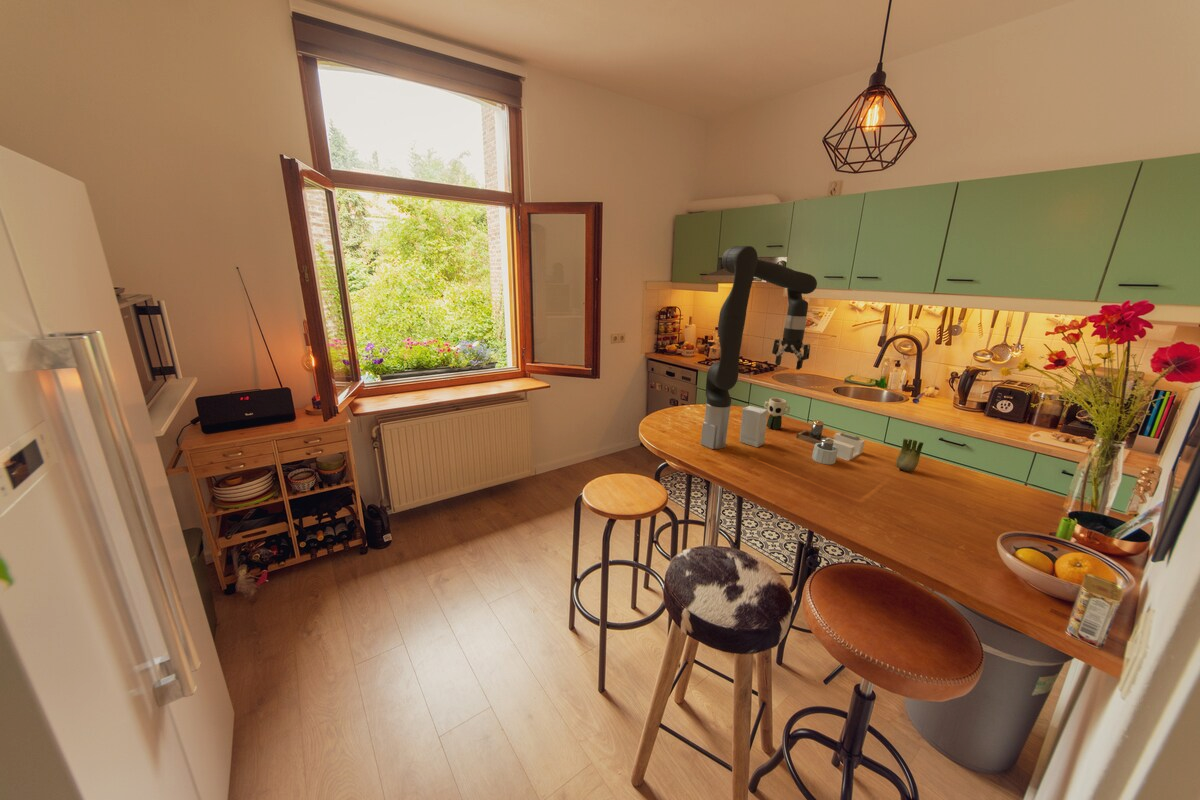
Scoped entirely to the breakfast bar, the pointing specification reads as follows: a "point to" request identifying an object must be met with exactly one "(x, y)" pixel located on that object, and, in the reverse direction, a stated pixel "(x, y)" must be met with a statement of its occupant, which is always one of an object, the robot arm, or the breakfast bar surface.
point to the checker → (848, 445)
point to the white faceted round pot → (824, 454)
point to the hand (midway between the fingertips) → (787, 367)
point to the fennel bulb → (909, 455)
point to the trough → (806, 437)
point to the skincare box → (753, 426)
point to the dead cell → (826, 444)
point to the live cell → (816, 430)
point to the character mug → (776, 412)
